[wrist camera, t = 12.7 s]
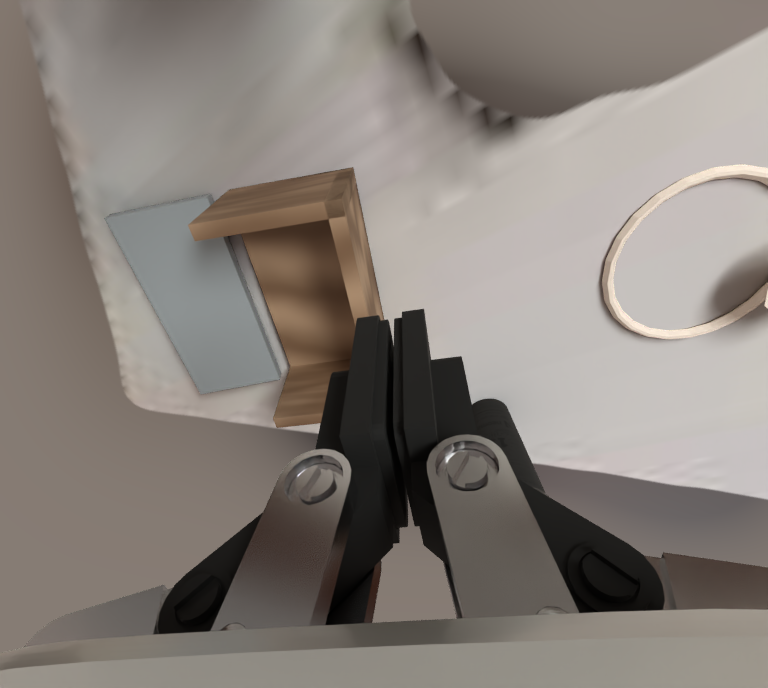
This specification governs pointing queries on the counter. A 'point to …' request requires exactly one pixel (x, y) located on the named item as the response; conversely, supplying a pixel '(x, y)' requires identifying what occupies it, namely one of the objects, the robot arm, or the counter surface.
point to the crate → (304, 274)
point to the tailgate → (197, 294)
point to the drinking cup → (505, 439)
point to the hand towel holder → (714, 173)
